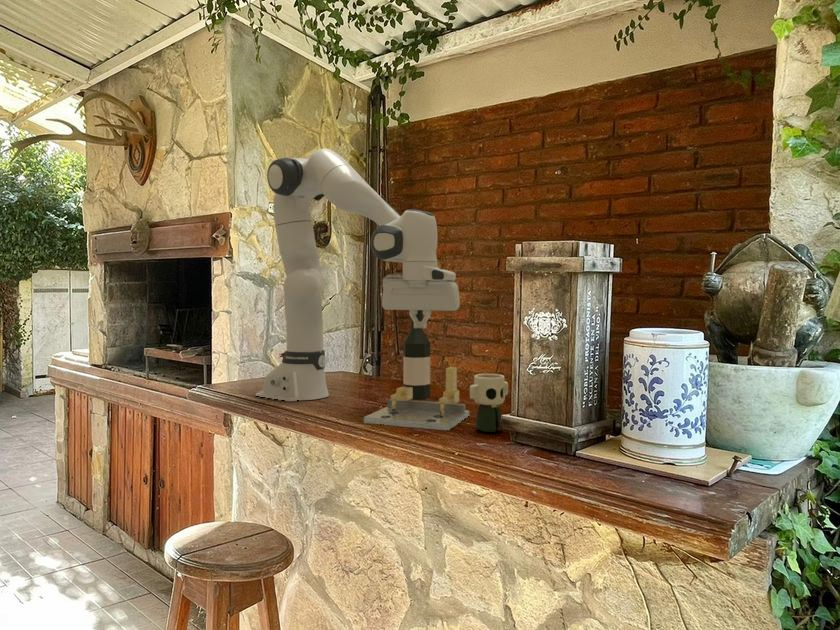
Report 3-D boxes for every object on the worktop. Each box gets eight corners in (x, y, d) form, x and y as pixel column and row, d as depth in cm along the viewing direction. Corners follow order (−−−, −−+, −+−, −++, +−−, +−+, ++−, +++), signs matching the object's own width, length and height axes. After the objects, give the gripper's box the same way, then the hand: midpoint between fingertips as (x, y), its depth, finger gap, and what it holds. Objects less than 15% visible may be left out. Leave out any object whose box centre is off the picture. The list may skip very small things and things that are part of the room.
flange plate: (364, 423, 149) (363, 395, 149) (391, 410, 165) (391, 385, 164) (448, 430, 141) (448, 401, 141) (469, 416, 157) (469, 390, 156)
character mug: (479, 437, 135) (479, 379, 134) (461, 430, 141) (461, 375, 140) (517, 431, 140) (517, 375, 140) (498, 425, 146) (498, 372, 146)
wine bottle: (435, 397, 184) (435, 299, 182) (413, 400, 179) (412, 299, 178) (420, 393, 190) (420, 298, 189) (398, 396, 186) (397, 298, 184)
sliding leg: (435, 414, 149) (435, 371, 148) (448, 407, 158) (448, 366, 157) (447, 415, 148) (447, 372, 147) (459, 408, 157) (459, 367, 156)
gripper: (377, 273, 153) (377, 328, 154) (454, 273, 146) (454, 330, 147) (387, 274, 159) (387, 326, 160) (461, 273, 152) (461, 328, 152)
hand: (420, 328), depth 153 cm, fingers closed
